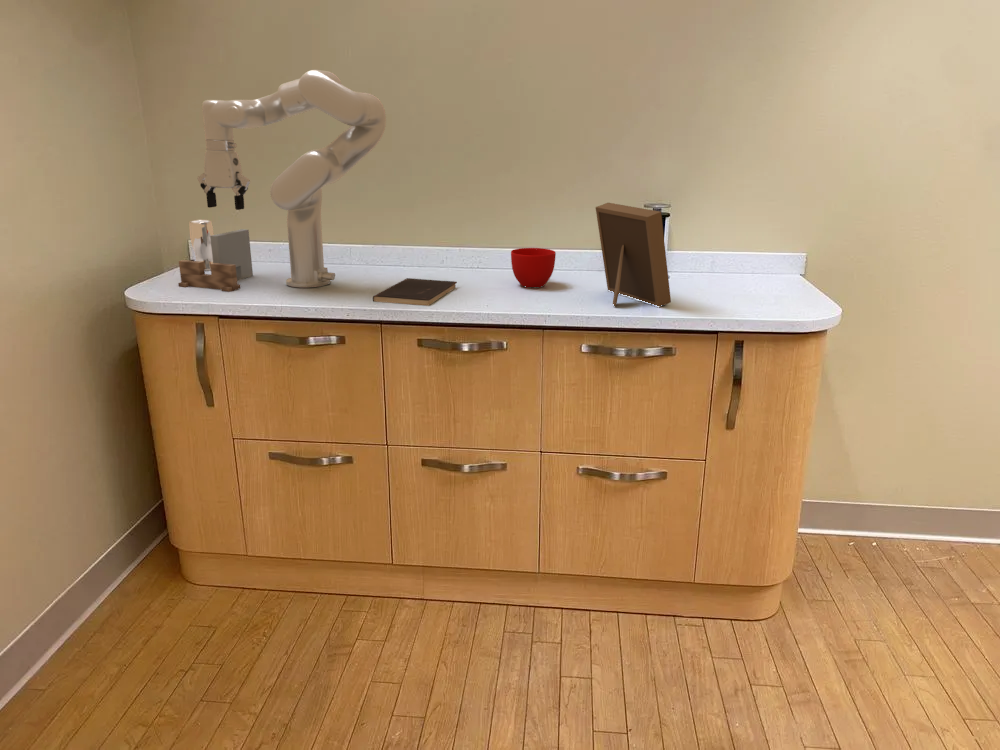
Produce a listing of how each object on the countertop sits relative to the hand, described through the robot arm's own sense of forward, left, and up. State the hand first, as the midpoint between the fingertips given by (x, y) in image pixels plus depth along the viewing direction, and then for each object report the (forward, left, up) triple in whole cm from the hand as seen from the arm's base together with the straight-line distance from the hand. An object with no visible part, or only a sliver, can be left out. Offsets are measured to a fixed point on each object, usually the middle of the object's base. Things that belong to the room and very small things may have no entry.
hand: (226, 208), depth 220 cm
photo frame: (-113, -19, -21) cm, 117 cm away
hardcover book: (-58, -4, -22) cm, 62 cm away
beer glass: (+19, -10, -21) cm, 30 cm away
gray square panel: (0, 0, -21) cm, 21 cm away
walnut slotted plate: (0, +11, -21) cm, 24 cm away
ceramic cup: (-84, -29, -21) cm, 92 cm away
